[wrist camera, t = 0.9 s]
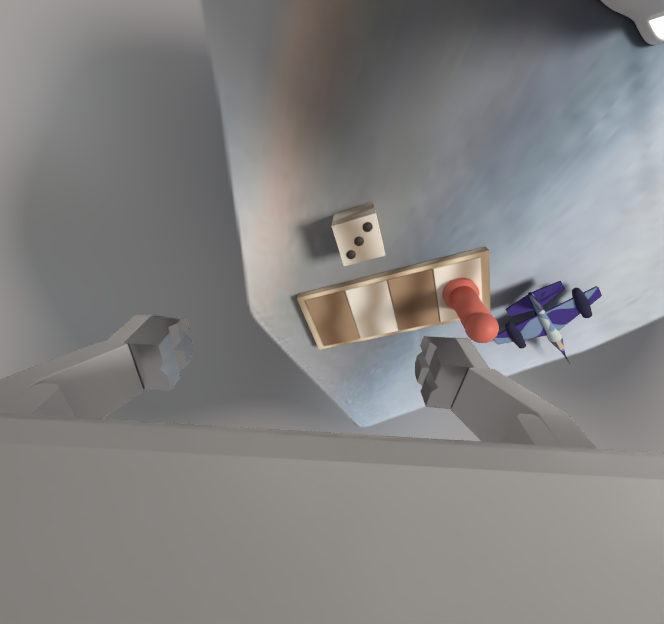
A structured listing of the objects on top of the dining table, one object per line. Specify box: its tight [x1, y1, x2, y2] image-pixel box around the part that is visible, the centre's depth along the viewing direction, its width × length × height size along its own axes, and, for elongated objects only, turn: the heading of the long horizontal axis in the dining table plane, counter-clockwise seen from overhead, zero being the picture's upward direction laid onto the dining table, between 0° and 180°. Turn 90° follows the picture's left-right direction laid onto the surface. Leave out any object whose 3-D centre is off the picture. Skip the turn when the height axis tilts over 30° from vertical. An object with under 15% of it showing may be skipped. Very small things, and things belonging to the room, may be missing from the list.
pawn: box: [442, 278, 499, 343], centre depth 36 cm, size 4×4×10 cm
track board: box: [297, 247, 491, 349], centre depth 42 cm, size 26×10×1 cm, turn 108°
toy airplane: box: [494, 281, 602, 359], centre depth 41 cm, size 13×14×4 cm
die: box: [332, 202, 385, 266], centre depth 35 cm, size 5×5×5 cm
